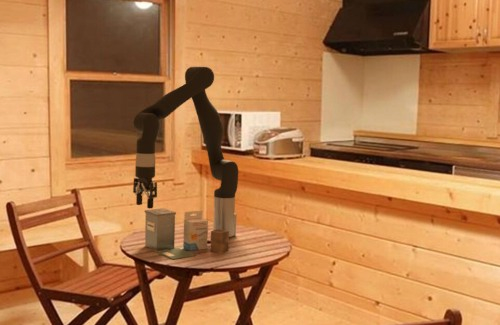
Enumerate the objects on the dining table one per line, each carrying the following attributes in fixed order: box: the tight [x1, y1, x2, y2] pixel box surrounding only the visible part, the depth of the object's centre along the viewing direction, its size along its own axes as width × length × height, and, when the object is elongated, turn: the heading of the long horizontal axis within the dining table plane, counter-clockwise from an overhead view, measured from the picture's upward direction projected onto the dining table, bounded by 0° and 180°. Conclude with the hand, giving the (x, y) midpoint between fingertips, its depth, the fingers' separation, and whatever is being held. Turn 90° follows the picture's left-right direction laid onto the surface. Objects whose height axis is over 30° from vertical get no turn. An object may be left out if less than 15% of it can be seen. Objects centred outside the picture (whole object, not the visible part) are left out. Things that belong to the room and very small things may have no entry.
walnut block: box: [210, 229, 230, 254], centre depth 229 cm, size 5×5×8 cm
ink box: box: [182, 210, 209, 252], centre depth 231 cm, size 8×5×15 cm, turn 123°
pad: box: [155, 247, 196, 260], centre depth 222 cm, size 10×12×1 cm
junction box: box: [144, 207, 177, 252], centre depth 231 cm, size 9×10×15 cm
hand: (144, 206), depth 225 cm, fingers open, 8 cm apart
